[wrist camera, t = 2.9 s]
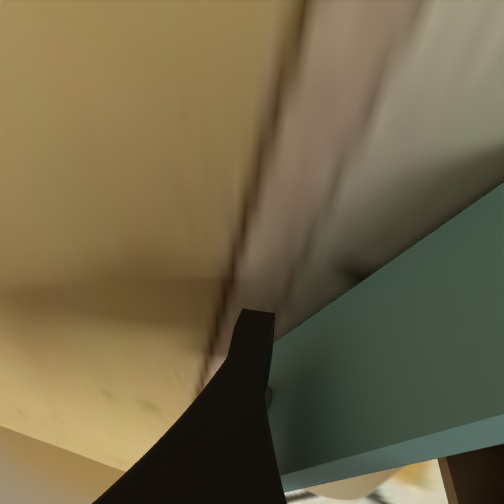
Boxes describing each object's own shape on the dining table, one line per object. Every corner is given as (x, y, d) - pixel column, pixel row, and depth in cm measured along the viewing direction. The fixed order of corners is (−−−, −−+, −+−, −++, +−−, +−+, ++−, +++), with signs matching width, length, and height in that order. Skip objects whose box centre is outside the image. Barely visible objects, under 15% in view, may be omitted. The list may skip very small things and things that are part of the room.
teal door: (630, 144, 7) (1110, 325, 3) (268, 369, 14) (243, 505, 10) (574, 81, 6) (1038, 175, 2) (233, 348, 14) (192, 480, 10)
